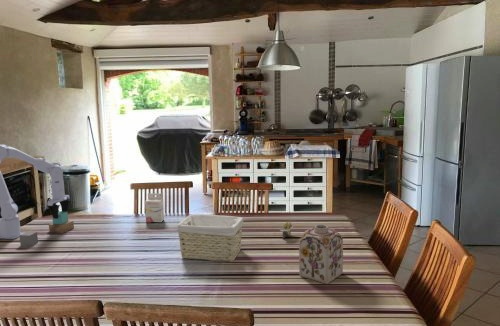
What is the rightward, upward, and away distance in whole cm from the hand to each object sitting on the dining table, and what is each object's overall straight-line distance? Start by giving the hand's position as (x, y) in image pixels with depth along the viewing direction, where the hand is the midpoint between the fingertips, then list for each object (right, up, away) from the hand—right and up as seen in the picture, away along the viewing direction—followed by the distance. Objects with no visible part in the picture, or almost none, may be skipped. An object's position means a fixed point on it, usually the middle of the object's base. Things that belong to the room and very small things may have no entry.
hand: (60, 216), depth 206 cm
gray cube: (-5, -10, -19) cm, 22 cm away
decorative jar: (+120, -14, -58) cm, 134 cm away
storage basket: (+79, -11, -37) cm, 88 cm away
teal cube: (0, -3, 0) cm, 3 cm away
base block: (0, -7, +1) cm, 7 cm away
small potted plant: (+111, -8, -17) cm, 113 cm away
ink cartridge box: (+45, -5, +12) cm, 46 cm away
